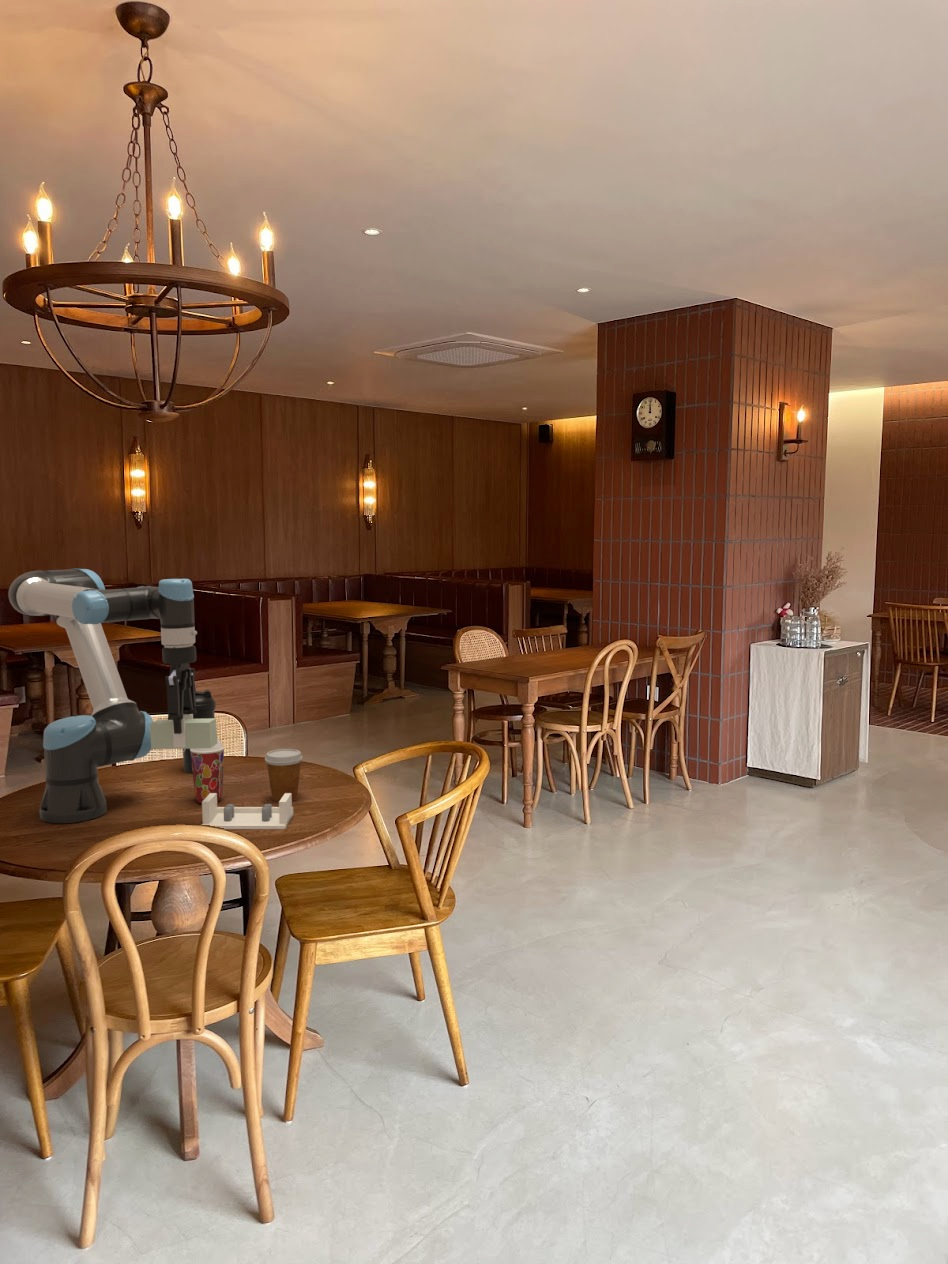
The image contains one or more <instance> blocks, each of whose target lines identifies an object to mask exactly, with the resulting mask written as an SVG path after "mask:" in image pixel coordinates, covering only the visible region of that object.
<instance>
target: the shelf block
mask: <svg viewBox="0 0 948 1264" xmlns="http://www.w3.org/2000/svg"><path fill="white" fill-rule="evenodd" d="M217 729H218V727H217V718H216V717H214V718H208V719H185V732H186V747H174V745H173V726H172V720H168V718H167V719H166V718H165V719H161V718H160V719H157V720H153V722H152V723H150V736H151V750H169V749H170V750H179V749H181V750H182V749H191V748H212V747H213V746H214V745H216V744H217V743H218V742H217V738H218V730H217Z"/></svg>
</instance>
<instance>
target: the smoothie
mask: <svg viewBox="0 0 948 1264" xmlns="http://www.w3.org/2000/svg"><path fill="white" fill-rule="evenodd" d="M217 742H218V743H217V744H216V745H214V746H213V747H212V748H191V749H190V752H191V762H192V772H193V774H192V779H193V780H192V781H193V788H194V789H193V790H194V791H193V792H194V798H196V801H197V803H198V804H202V801H203V800H204V799H205V798H206V797H207V796H208V795H209V794H210V793H217V803H218V802H219V801H221V799H222V796H223V794H224V793H223V792H224V791H223V790H224V788H223V787H224V761H225V760H224V759H225V755H224V754H225V751H224V750H225V746H224V745H223V743H222V742H221V740H220V739H219V738H218V737H217Z"/></svg>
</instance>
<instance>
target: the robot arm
mask: <svg viewBox="0 0 948 1264" xmlns="http://www.w3.org/2000/svg"><path fill="white" fill-rule="evenodd" d="M7 596H8V600H9V603H10V604H11V606H12V608H13V609H14V610H15V611H17V612H18V613H20V614H23V615H25V616H32V617H34V616H35V617H37V616H38V617H39V616H40V617H42V616H43V617H44V616H45V617H46V616H54V619H55V622H56V625H57V626H59V627H61V628H64V629H65V632H66V634H67V637H68V639H69V643H70V646H71V649H72V651H73V655H74V657H75V660H76V663H77V666H78V669H79V672H80V674H81V678H82V681H83V683H84V686H85V689H86V692H87V694H88V698H89V701H90V704H91V706H92V709H93V710H92V713H91V714H90V715H87V714H86V715H85V714H82V715H80V714H79V715H76V716H68V717H64V718H60V719H58V720H55V721H53V722H51V723H49V724H48V725H47V726H46V727H45V728H44V730H43V740H42V741H43V742H42V747H43V755H44V771H45V772H44V773H45V789H44V792H43V796H42V799H41V803H40V806H39V819H40V820H41V821H43V822H46V823H50V824H51V823H52V824H71V823H72V824H73V823H79V822H85V821H90V820H92V819H96V818H99V817H101V816H103V815H105V814H106V813H107V812H108V808H107V799H106V797H105V795H104V792H103V789H102V787H101V785H100V782H99V778H98V777H99V775H98V768H99V767H100V768H101V767H104V766H110V765H113V764H115V765H116V764H119V763H124V762H127V761H128V762H131V761H134V760H137V759H139V758H144V757H146V756H147V755H148V754H149V753H150V752H151V751H152V749H151V736H150V723H152V722H154V720H153V718H152V716H151V715H150V714H149V713H147V711H144V710H143V711H142V710H139V708H138V705H137V702H135V701H133V700H132V699H129V698H128V696H127V692H126V690H125V687H124V684H123V681H122V679H121V676H120V673H119V671H118V666H117V665H116V663H115V662H116V661H115V659H114V657H113V654H112V650H111V648H110V645H109V643H108V642H109V641H108V640H107V637H106V634H105V632H104V629H103V625H102V624H105V623H116V622H125V621H126V622H128V621H138V620H149V619H150V620H151V619H155V620H157V619H158V620H160V639H161V643H160V644H161V645H162V646H163V647H162V649H161V652H162V654H161V656H162V662H163V663H164V664H166V665H167V664H168V665H170V668H169V673H168V675H166V676H165V684H166V699H167V701H166V702H167V719H168V720H172V726H173V745H174V747H186V732H185V719H193V714H192V713H197V710H194V709H196V700H195V691H196V686H195V684H196V683H195V673H196V669H195V667H193V668H192V667H191V666H190V664H192V663H195V662H197V648H196V646H195V645H194V644H195V643H196V635H198V631H197V630H196V629H195V626H196V625H195V600H194V599H195V595H194V588H193V581H191V580H190V579H189V578H167V579H166V578H165V579H160V580H159V582H158V586H152V585H146V586H145V585H141V586H137V587H128V588H126V587H125V588H115V589H111V588H110V589H106V587H105V585H104V581H102V579H101V577H100V576H99V575H98V574H97V573H96V572H95V571H93V570H90V569H87V568H70V569H50V570H49V569H48V570H33V571H28V572H24V573H22V574H21V575H19V576H18V577H16V578H15V579H14V580H13V581H12V583H11V584H10V586H9V588H8V595H7Z"/></svg>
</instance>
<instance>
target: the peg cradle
mask: <svg viewBox="0 0 948 1264" xmlns="http://www.w3.org/2000/svg"><path fill="white" fill-rule="evenodd" d="M292 803H293V802H292V794H291V793H285V794H284V795H283V797H282V798H281V800H280V801H279V802H278V806H272V803H265V804H263V806H235V804H234V803H228V804H225V806H218V802H217V793H210V794H209V795H208V796H207V797H206V798H205V799H204V800H203V801H202V803H201V808H202V809H201V813H202V815H201V817H202V823H201V825H210V826H215V827H220V828H224V829H223V830H285V829H286V828H287V826H288V825H289V823H290V822H291V820H292V818H293V817H294V806H292V805H293V804H292Z"/></svg>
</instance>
